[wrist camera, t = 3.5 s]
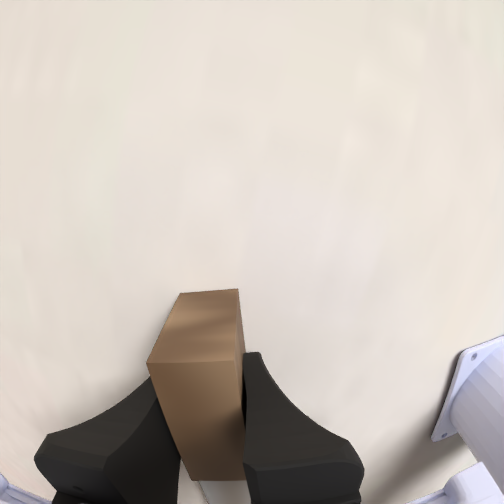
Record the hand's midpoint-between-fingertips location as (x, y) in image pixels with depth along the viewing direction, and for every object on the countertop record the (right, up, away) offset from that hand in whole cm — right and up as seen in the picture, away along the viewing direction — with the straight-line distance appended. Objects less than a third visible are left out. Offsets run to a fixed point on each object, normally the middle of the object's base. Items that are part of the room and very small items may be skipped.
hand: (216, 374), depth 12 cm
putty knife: (+1, -7, +3) cm, 8 cm away
